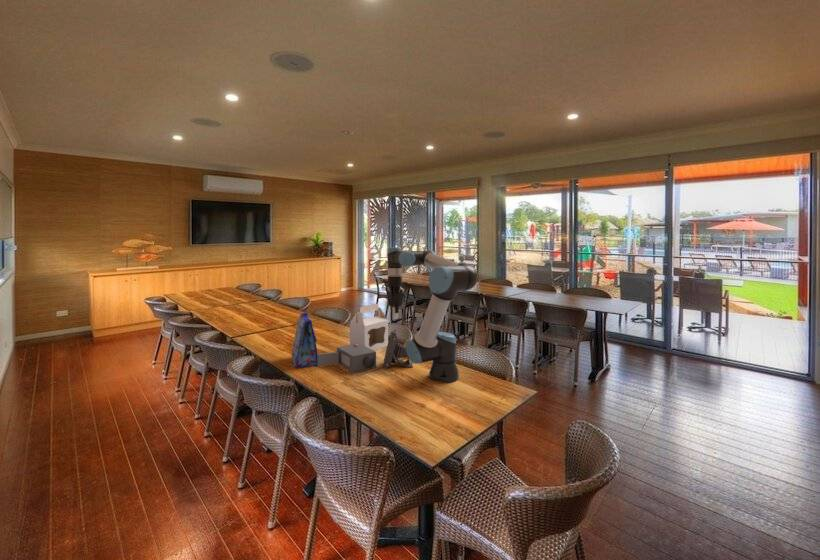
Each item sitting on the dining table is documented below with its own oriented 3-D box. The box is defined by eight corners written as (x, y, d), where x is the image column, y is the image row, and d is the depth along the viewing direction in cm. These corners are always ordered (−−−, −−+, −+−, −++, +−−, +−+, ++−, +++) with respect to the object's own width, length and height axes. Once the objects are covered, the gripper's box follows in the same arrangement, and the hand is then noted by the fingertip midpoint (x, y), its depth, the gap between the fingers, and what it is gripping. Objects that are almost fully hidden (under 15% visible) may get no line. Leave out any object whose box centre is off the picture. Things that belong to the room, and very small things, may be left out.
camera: (410, 375, 212) (420, 340, 210) (381, 367, 211) (390, 332, 209) (410, 368, 223) (419, 335, 221) (382, 360, 222) (391, 327, 220)
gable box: (373, 342, 262) (373, 301, 259) (388, 345, 254) (388, 303, 251) (349, 349, 245) (349, 306, 242) (364, 353, 237) (364, 308, 234)
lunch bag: (319, 366, 215) (318, 315, 211) (294, 369, 210) (292, 316, 206) (314, 354, 235) (313, 307, 231) (291, 357, 230) (289, 309, 226)
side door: (318, 366, 210) (317, 354, 209) (317, 365, 212) (316, 353, 211) (340, 363, 216) (340, 351, 215) (339, 362, 217) (339, 350, 217)
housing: (378, 368, 211) (377, 351, 210) (354, 373, 203) (354, 355, 202) (359, 358, 229) (358, 341, 228) (336, 362, 221) (336, 345, 220)
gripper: (408, 275, 208) (408, 319, 210) (391, 274, 217) (391, 316, 219) (398, 276, 203) (399, 321, 205) (381, 275, 211) (382, 318, 213)
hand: (395, 318), depth 212 cm, fingers closed
